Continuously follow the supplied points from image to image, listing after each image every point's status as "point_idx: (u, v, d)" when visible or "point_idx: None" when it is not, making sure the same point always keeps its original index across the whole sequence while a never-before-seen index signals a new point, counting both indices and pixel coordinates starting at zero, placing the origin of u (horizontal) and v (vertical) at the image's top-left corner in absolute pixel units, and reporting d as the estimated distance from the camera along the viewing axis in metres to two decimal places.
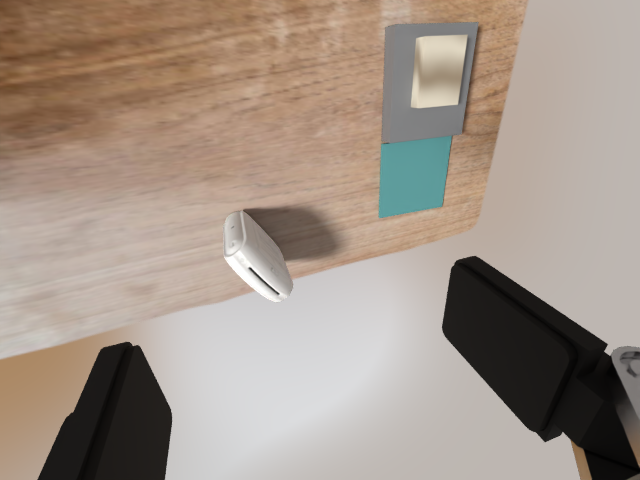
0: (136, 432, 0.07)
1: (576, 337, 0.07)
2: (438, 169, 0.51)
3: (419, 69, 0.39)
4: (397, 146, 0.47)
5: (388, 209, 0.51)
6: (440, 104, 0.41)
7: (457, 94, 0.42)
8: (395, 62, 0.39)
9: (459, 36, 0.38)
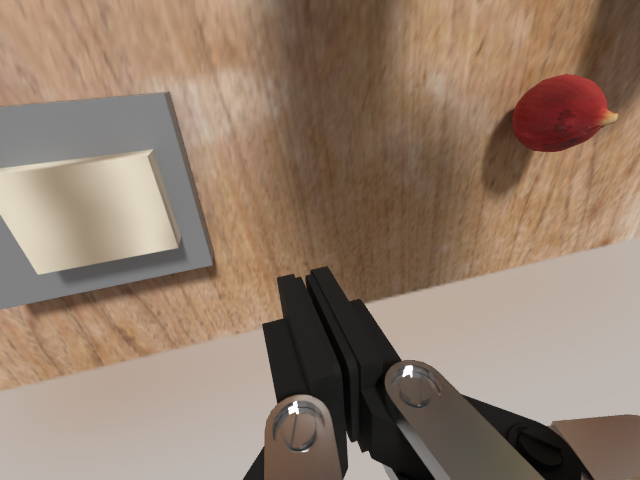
0: None
1: (360, 351, 0.07)
2: None
3: (82, 161, 0.17)
4: None
5: None
6: (17, 233, 0.17)
7: (59, 266, 0.19)
8: (88, 106, 0.17)
9: (170, 232, 0.20)
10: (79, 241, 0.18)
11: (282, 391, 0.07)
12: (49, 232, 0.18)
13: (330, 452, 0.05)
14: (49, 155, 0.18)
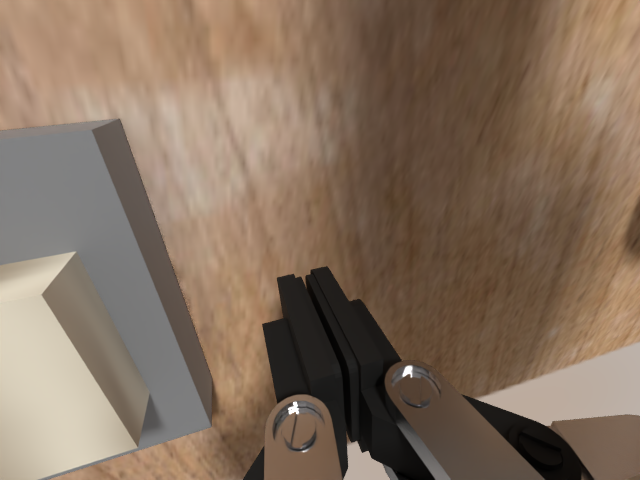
0: None
1: (360, 351, 0.07)
2: None
3: None
4: None
5: None
6: None
7: None
8: None
9: (117, 427, 0.09)
10: None
11: (282, 391, 0.07)
12: None
13: (330, 452, 0.05)
14: None
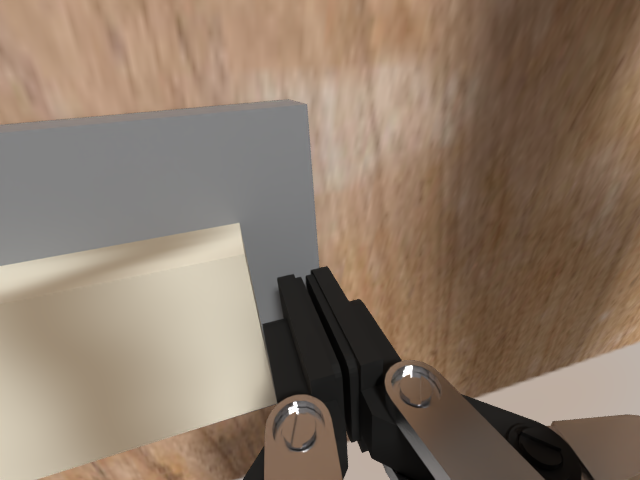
0: None
1: (360, 351, 0.07)
2: None
3: (99, 268, 0.08)
4: None
5: None
6: None
7: (47, 469, 0.09)
8: (152, 132, 0.08)
9: (267, 382, 0.10)
10: (89, 423, 0.09)
11: (282, 391, 0.07)
12: (24, 418, 0.08)
13: (330, 452, 0.05)
14: (62, 235, 0.08)
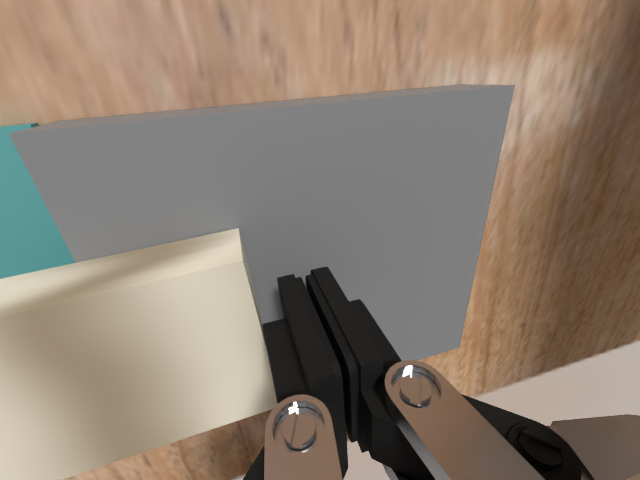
0: None
1: (360, 351, 0.07)
2: None
3: (101, 278, 0.08)
4: None
5: None
6: None
7: (59, 474, 0.09)
8: (403, 107, 0.09)
9: (271, 385, 0.10)
10: (97, 429, 0.09)
11: (282, 391, 0.07)
12: (34, 426, 0.08)
13: (330, 452, 0.05)
14: (316, 195, 0.10)
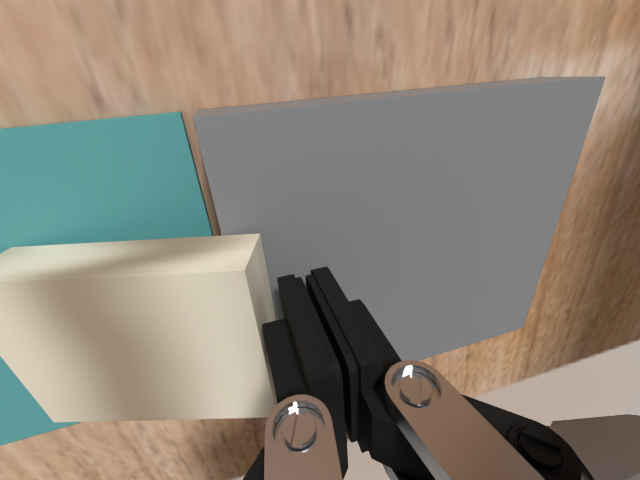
0: None
1: (360, 351, 0.07)
2: None
3: (126, 261, 0.09)
4: (183, 190, 0.11)
5: None
6: (17, 369, 0.10)
7: (84, 417, 0.11)
8: (510, 96, 0.10)
9: (267, 395, 0.10)
10: (113, 389, 0.10)
11: (282, 391, 0.07)
12: (66, 373, 0.10)
13: (330, 452, 0.05)
14: (426, 177, 0.11)
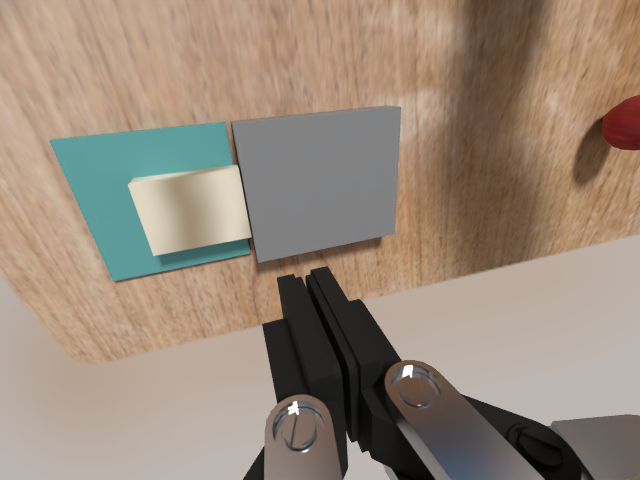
0: None
1: (360, 351, 0.07)
2: None
3: (193, 173, 0.24)
4: (224, 154, 0.25)
5: (79, 160, 0.23)
6: (145, 224, 0.24)
7: (168, 249, 0.25)
8: (357, 115, 0.25)
9: (247, 225, 0.27)
10: (185, 231, 0.25)
11: (282, 391, 0.07)
12: (166, 224, 0.25)
13: (330, 452, 0.05)
14: (325, 149, 0.26)
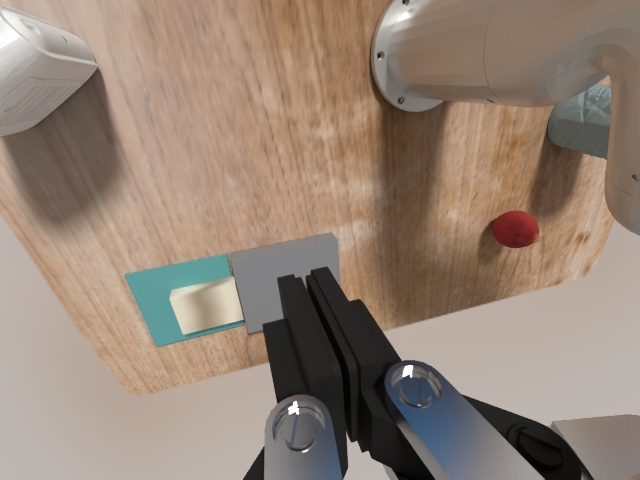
0: None
1: (360, 351, 0.07)
2: None
3: (207, 287, 0.40)
4: (226, 271, 0.41)
5: (140, 284, 0.38)
6: (178, 318, 0.40)
7: (192, 330, 0.41)
8: (308, 248, 0.41)
9: (241, 313, 0.42)
10: (202, 319, 0.41)
11: (282, 391, 0.07)
12: (191, 317, 0.40)
13: (330, 452, 0.05)
14: (289, 268, 0.41)
